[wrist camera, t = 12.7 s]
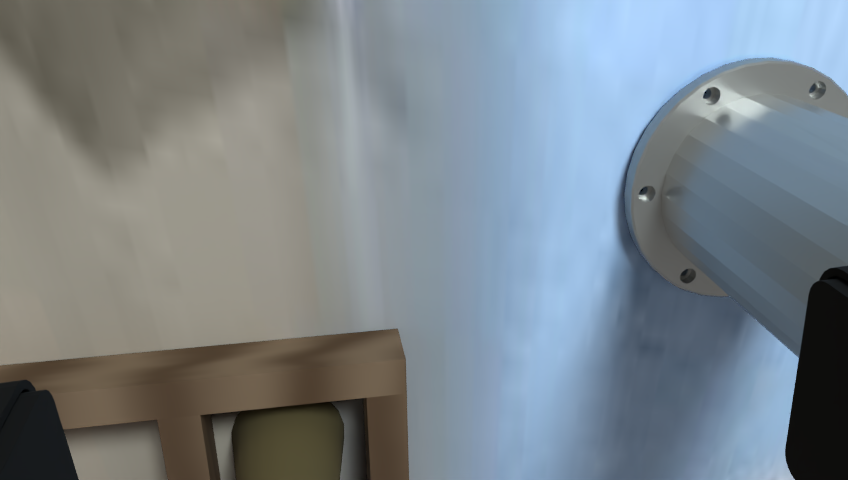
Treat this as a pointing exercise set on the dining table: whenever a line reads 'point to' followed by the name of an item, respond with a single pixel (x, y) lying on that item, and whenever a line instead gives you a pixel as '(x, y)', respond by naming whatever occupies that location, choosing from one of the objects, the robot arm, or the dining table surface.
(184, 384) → the caddy
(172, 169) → the dining table surface
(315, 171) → the dining table surface
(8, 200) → the dining table surface
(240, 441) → the olive tall rounded piece
